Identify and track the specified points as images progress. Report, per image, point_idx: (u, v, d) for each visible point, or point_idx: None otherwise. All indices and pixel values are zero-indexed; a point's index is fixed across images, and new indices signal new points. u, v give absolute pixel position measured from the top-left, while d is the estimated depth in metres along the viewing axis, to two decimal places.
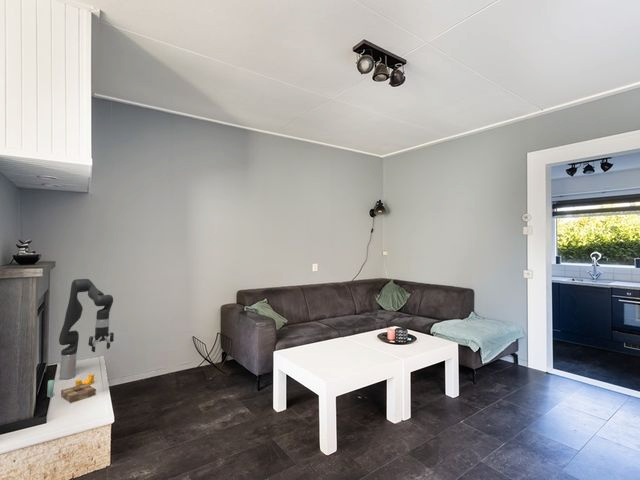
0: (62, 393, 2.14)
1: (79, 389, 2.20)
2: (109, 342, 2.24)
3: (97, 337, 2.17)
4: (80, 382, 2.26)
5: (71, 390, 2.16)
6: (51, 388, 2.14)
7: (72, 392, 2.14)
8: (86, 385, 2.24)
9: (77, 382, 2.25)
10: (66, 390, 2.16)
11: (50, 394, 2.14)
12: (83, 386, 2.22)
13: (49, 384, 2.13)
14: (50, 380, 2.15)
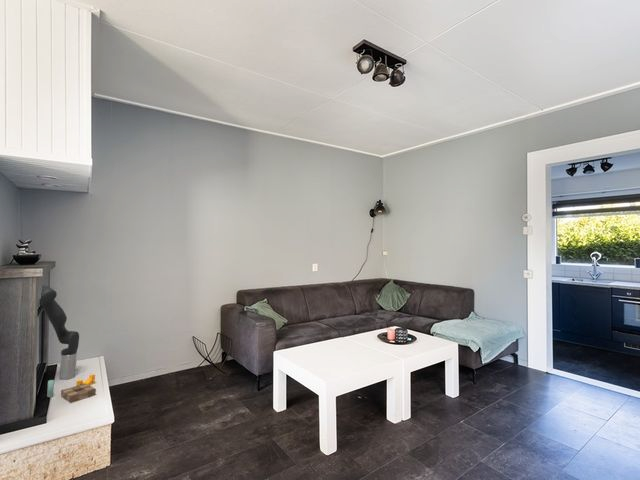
0: (62, 393, 2.14)
1: (79, 389, 2.20)
2: None
3: None
4: (81, 382, 2.26)
5: (71, 390, 2.16)
6: (51, 388, 2.14)
7: (72, 392, 2.14)
8: (86, 385, 2.24)
9: (78, 382, 2.25)
10: (66, 390, 2.16)
11: (50, 394, 2.14)
12: (83, 386, 2.22)
13: (49, 384, 2.13)
14: (50, 380, 2.15)
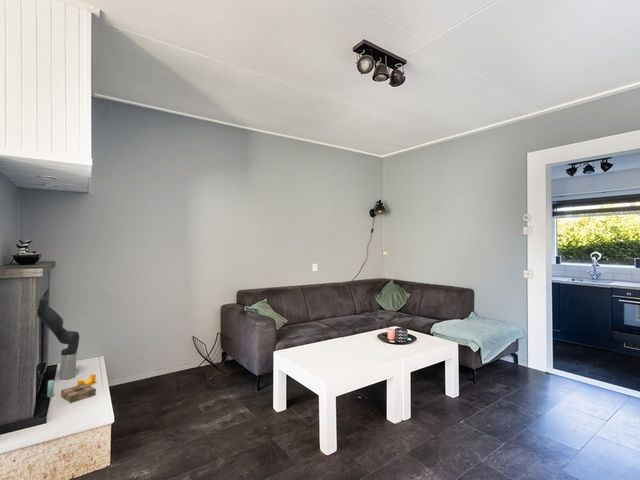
0: (62, 393, 2.14)
1: (79, 389, 2.20)
2: None
3: None
4: (82, 382, 2.26)
5: (71, 390, 2.16)
6: (51, 388, 2.14)
7: (72, 392, 2.14)
8: (86, 385, 2.24)
9: (79, 382, 2.25)
10: (66, 390, 2.16)
11: (50, 394, 2.14)
12: (83, 386, 2.22)
13: (49, 384, 2.13)
14: (50, 380, 2.15)
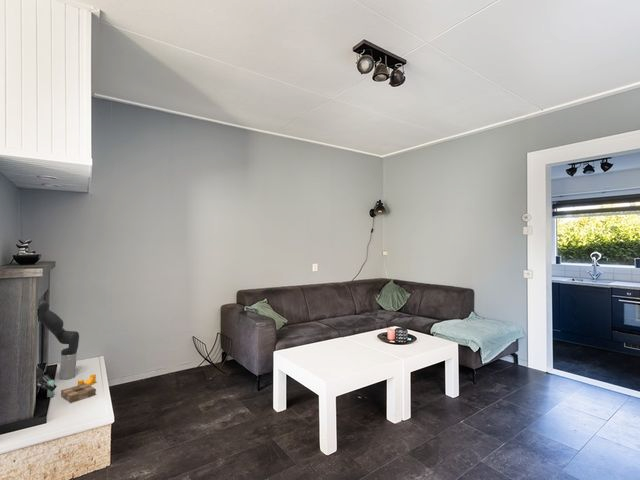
0: (62, 393, 2.14)
1: (79, 389, 2.20)
2: (45, 387, 2.12)
3: None
4: (82, 382, 2.26)
5: (71, 390, 2.16)
6: None
7: (72, 392, 2.14)
8: (86, 385, 2.24)
9: (79, 382, 2.25)
10: (66, 390, 2.16)
11: (50, 394, 2.14)
12: (83, 386, 2.22)
13: None
14: (50, 380, 2.15)
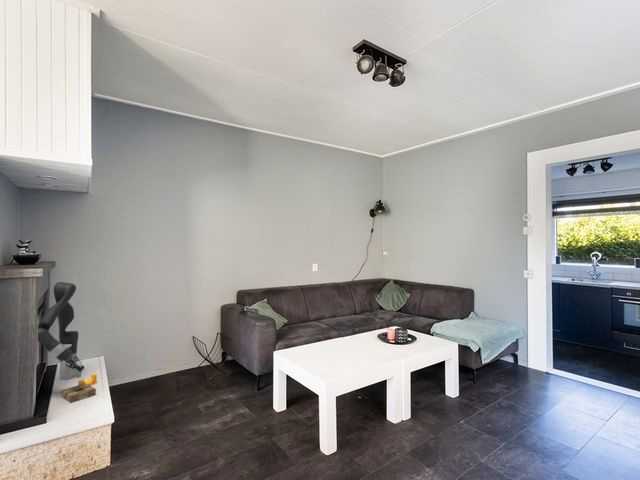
0: (62, 393, 2.14)
1: (79, 389, 2.20)
2: None
3: None
4: (83, 382, 2.26)
5: (71, 390, 2.16)
6: None
7: (72, 392, 2.14)
8: (86, 385, 2.24)
9: (80, 382, 2.25)
10: (66, 390, 2.16)
11: (78, 374, 2.16)
12: (83, 386, 2.22)
13: None
14: (78, 361, 2.18)
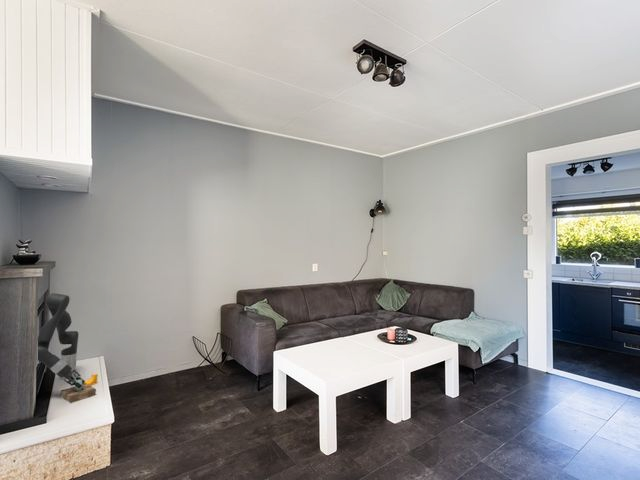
0: (62, 393, 2.14)
1: None
2: (73, 384, 2.13)
3: None
4: None
5: (71, 390, 2.16)
6: None
7: (72, 392, 2.14)
8: (86, 385, 2.24)
9: None
10: (66, 390, 2.16)
11: None
12: (83, 386, 2.22)
13: None
14: (78, 380, 2.18)
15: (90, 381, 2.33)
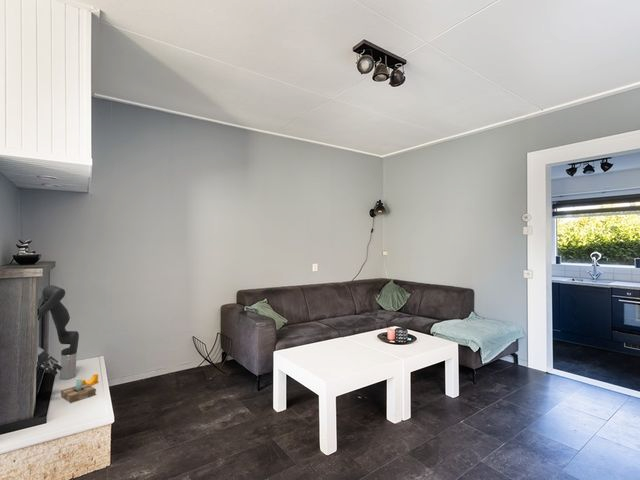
0: (62, 393, 2.14)
1: None
2: (48, 371, 2.08)
3: None
4: (84, 382, 2.27)
5: (71, 390, 2.16)
6: (79, 387, 2.17)
7: (72, 392, 2.14)
8: (86, 385, 2.24)
9: None
10: (66, 390, 2.16)
11: None
12: (83, 386, 2.22)
13: (77, 383, 2.16)
14: (78, 380, 2.18)
15: (91, 381, 2.34)
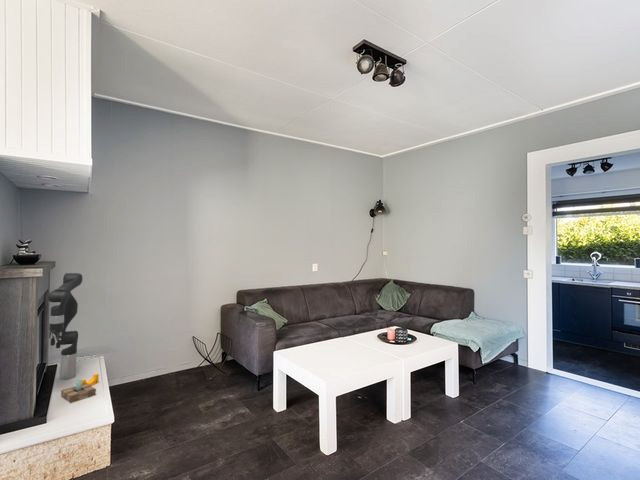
0: (62, 393, 2.14)
1: None
2: (56, 341, 2.17)
3: (52, 332, 2.21)
4: (84, 382, 2.27)
5: (71, 390, 2.16)
6: (79, 387, 2.17)
7: (72, 392, 2.14)
8: (86, 385, 2.24)
9: None
10: (66, 390, 2.16)
11: None
12: (83, 386, 2.22)
13: (77, 383, 2.16)
14: (78, 380, 2.18)
15: (91, 381, 2.34)
